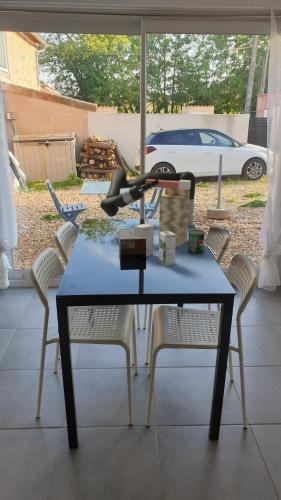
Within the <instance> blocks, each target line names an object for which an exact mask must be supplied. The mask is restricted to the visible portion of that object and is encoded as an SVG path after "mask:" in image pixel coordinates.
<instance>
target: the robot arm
mask: <svg viewBox="0 0 281 500" xmlns="http://www.w3.org/2000/svg"><path fill="white" fill-rule="evenodd" d="M127 178H128V177H127V172H126V171H125V170H124V169H123V168H116V169H114V170H112V172H111V179H110V185H109V188H108V191H107V193H106V197H105V198H104V199H103V200H101V201H100V205H99V207H100V208H101V209H102V211H103V212H104V213H105V214H106V215H107V216H108V217H110V218H112V217H115V216H116V215H117V214H118V212H119V208H120V209H123V208H125V207H127V206H128V205H131V204H134V203H135V202H137V201H139V200H141V199H143V198H144V196H145V193H147V192H149V191H150V190H152V189H153V188H154V187H153V186H155V185H157V184H158V183H159V181H158V180H165V181H180V180H188V181H191V187H190V198H189V218H188V228H190V227H189V226H191V227H193V226H194V214H195V213H194V209H195V194H196V177H195V175H194V174H193V172H192V171H181V172H161V171H148V172H146V173H144V174H141V175H139V177H137V178H134V179H127ZM147 179H151V180H155V181H153V182H151V183H148V184H146V180H147ZM122 189H123V190H124V189H126V190H125V191H123V192H121V190H122Z"/></svg>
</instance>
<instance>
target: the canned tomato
mask: <svg viewBox="0 0 281 500" xmlns="http://www.w3.org/2000/svg"><path fill="white" fill-rule="evenodd" d="M205 233H206V232H205V230H203V229H188V238H187V254H188V255H190V256H202V255H204V250H205V235H206V234H205Z"/></svg>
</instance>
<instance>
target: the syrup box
mask: <svg viewBox="0 0 281 500" xmlns="http://www.w3.org/2000/svg"><path fill="white" fill-rule="evenodd" d="M175 243H176V234H174V233H172V232H171V231H164V232H160V242H159V241H158V245H159V246H158V247H159V249H158V250H159V251H158V263H160V265H162V266H163V267H165V266H172V265H175V257H176V246H175Z"/></svg>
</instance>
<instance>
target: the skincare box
mask: <svg viewBox="0 0 281 500" xmlns="http://www.w3.org/2000/svg"><path fill="white" fill-rule="evenodd" d="M154 231H155V226H154V225H152V224H149V223H148V224H147V223H143V224H142V223H141V224H138V225H134V226H133V237H134V236H136V237H139V238H142V239H146V247H147V250H146V254H147V256H146V257H148V256H152V255H154V236H155V235H154V234H155V233H154Z"/></svg>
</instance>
